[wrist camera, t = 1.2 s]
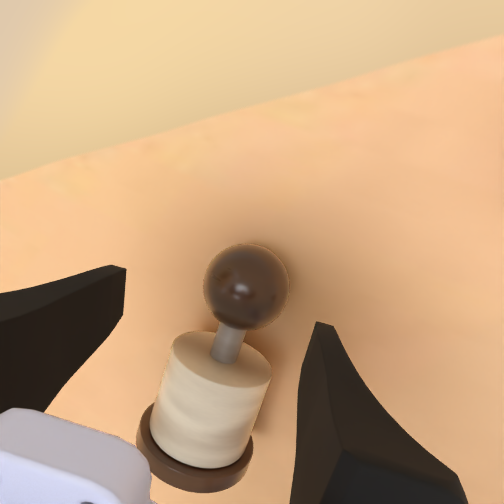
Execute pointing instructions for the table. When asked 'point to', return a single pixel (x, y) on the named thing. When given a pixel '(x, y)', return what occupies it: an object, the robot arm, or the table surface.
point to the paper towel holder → (216, 378)
